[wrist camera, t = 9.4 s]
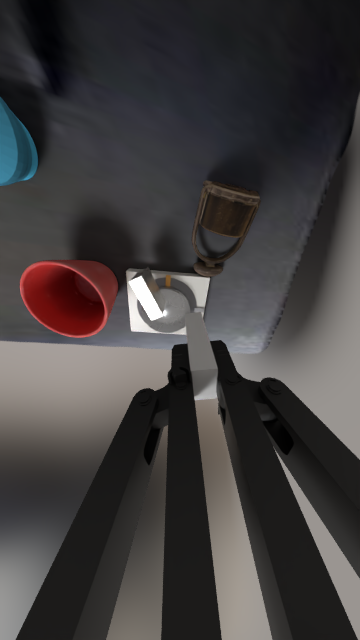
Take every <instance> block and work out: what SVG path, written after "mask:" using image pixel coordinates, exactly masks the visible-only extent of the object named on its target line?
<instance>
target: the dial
mask: <svg viewBox="0 0 360 640" xmlns="http://www.w3.org/2000/svg"><path fill="white" fill-rule="evenodd" d="M129 283H130V285H131V287H132V288H133V290H134V292H135V293H136V295H137V297H138V298H139V300H140V302H141V303H142V316H143V319H144V321H145V322H146V324H147V325H148V326H149V327H150V328H152V329H154V330H155V331H158V332H162V333H172V332H176V331H178V330H180V329H182V328H183V327H184V326H185V325H186V324H185V314H186V313H190V304H189V301H188V298H187V297H186V295H185V294H184V293H183V292H182V291H181V290H179V289H177V288H175V287H172V286H160V287H158V285H157V283H156V281H155V279H154V277H153V275H152V273H151V271H150V269H149V267H147V268H145V269H143V270H141V271H138V272H137V273H136V274H135V275H134V276H133V278H132V279H131V280H130V281H129Z"/></svg>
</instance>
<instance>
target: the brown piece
mask: <svg viewBox="0 0 360 640" xmlns="http://www.w3.org/2000/svg"><path fill="white" fill-rule="evenodd" d="M203 186H204V187H203V189H202V191H201V195H200V200H199V204H198V208H197V213H196V217H195V222H194V227H193V232H192V244H193V247H194V250H195V252H196V254H197V255H198V257H199V258H200V259H201V260H203V261H205V262H198V263H195V264H194V270H195V271H196V272H197V273H198V274H200V275H203V276H207V277H211V276H215V275H218V274H220V273H221V272H222V271H223V268H222V267H221V266H219V265H217V264H215V263H220V262H223V261H225V260H227V259H228V258H230V257H231V256H233V255H234V254H235V253H236V252H237V251H238V250H239V248H240V247H241V245H242V244H243V242H244V240H245V237H246V235H247V233H248V231H249V228H250V226H251V224H252V222H253V219H254V217H255V215H256V213H257V210H258V208H259V205H260V202H261V200H260V198H259V195H258V192H256V191H252V190H249V191H247V190H246V188H242V187H239V186H235V185H231V184H222V183H220V182H216V181H214V182H211V181H204V182H203ZM199 224H200V225H201V226H202V227H203V228H205V229H207V230H209V231H211V232H214V233H216V234H219V235H222V236H228V237H240V239H239V241H238V243H237V245H236V246H235V247H234V248H233V249H232V250H231V251H229V252H228V253H227V254H226V255H224V256H222V257H219V258H208V257H205V256H203V255H202V254H201V253H200V252H199V251H198V249H197V246H196V234H197V230H198V225H199Z"/></svg>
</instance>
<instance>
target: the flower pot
mask: <svg viewBox="0 0 360 640" xmlns="http://www.w3.org/2000/svg"><path fill="white" fill-rule="evenodd" d="M20 292H21V296H22V299H23V301H24V303H25V305H26V307H27V309H28V310H29V312H30V313H31V314H32V315H33V316H34V317H35V318H36V319H37V320H38V321H39V322H40V323H41V324H43V325H44V326H46V327H47V328H49V329H51V330H52V331H54V332H57V333H59V334H62V335H65V336H70V337H79V338H80V337H88V336H91V335H94V334H96V333H98V332H99V331H100V330H101V329H102V328H103V327H104V326H105V324H106V322H107V320H108V318H109V315H110V313H111V310H112V307H113V305H114V302H115V299H116V295H117V292H118V282H117V279H116V277H115V275H114V273H113V272H112V271H111V270H110V269H109V268H108V267H107V266H105V265H104V264H102V263H99V262H96V261H86V260H45V261H39V262H36V263H34V264H32V265H30V266H29V267H28V268H27V269H26V270H25V271H24V273H23V274H22V277H21V280H20Z"/></svg>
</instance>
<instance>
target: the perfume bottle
mask: <svg viewBox="0 0 360 640" xmlns="http://www.w3.org/2000/svg"><path fill="white" fill-rule="evenodd" d="M37 167H38V156H37V151H36V147H35V144H34V142H33V139H32V137H31V135H30V134H29V132H28V130H27V129H26V127H25V126H24V125H23V124H22V122H21V121H20V120H19V119H18V118H17V117H16V116H15V114H14V113H13V112H12V111H11V110H10V109H9V107H8V106H7V104H6V103H5V102H4V100H3V99H2V98H1V97H0V186H3V185H9V184H13V183H15V182H19V181H21V180H22V181H23V180H28V179H30V178H31V177H33V176H34V174H35V172H36V170H37Z"/></svg>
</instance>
